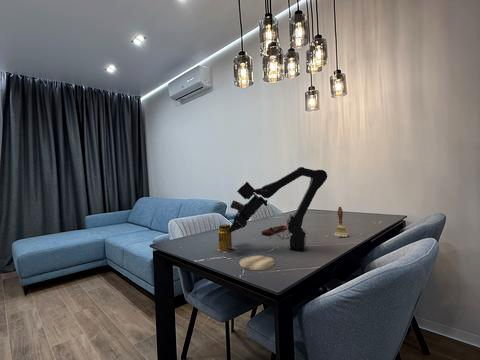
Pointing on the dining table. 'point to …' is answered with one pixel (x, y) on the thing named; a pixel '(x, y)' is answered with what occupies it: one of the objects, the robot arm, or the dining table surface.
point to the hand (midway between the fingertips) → (230, 229)
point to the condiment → (225, 239)
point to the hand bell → (340, 225)
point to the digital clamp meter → (275, 231)
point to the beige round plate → (256, 262)
